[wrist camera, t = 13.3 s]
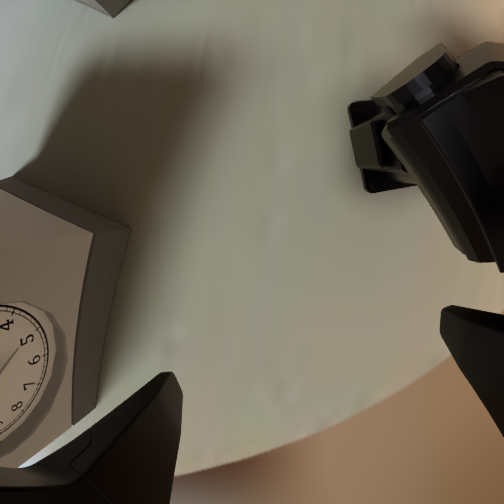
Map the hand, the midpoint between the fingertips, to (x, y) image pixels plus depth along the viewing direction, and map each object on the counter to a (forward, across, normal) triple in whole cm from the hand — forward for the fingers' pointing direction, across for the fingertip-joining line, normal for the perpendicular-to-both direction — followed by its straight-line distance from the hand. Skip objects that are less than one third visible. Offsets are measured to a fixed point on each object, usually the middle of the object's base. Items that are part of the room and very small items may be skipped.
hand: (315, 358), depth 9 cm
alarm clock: (+13, +22, 0) cm, 26 cm away
